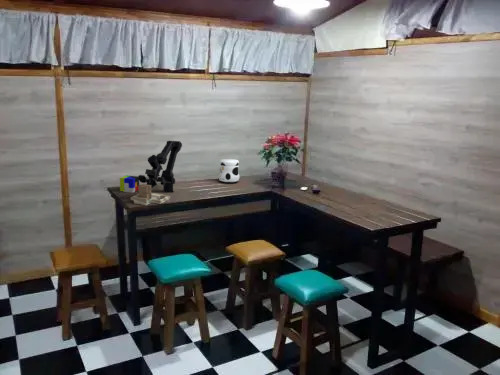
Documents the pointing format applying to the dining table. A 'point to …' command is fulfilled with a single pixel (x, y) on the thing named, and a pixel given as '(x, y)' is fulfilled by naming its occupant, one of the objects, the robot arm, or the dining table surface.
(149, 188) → the walnut block
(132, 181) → the puzzle toy
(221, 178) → the milk container
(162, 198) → the board
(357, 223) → the dining table surface
